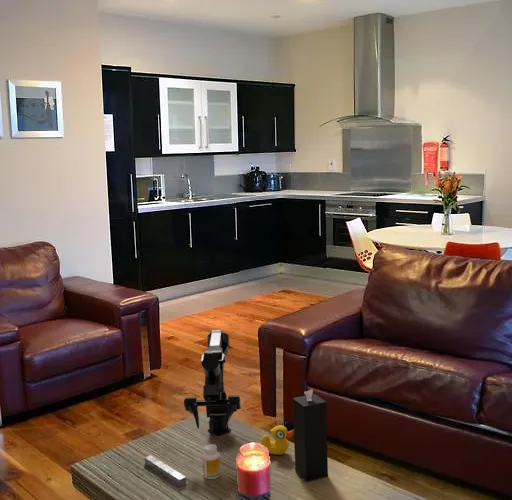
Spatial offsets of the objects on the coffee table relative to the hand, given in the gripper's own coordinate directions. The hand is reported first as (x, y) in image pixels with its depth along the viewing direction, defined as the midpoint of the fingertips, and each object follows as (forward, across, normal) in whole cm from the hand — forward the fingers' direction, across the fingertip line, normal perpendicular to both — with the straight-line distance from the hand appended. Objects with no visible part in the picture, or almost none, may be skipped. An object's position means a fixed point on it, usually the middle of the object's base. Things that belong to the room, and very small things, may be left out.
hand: (211, 427), depth 208 cm
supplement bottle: (+14, 0, +4) cm, 15 cm away
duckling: (+5, +21, +14) cm, 26 cm away
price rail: (+13, -16, +5) cm, 21 cm away
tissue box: (+15, +32, +3) cm, 35 cm away
